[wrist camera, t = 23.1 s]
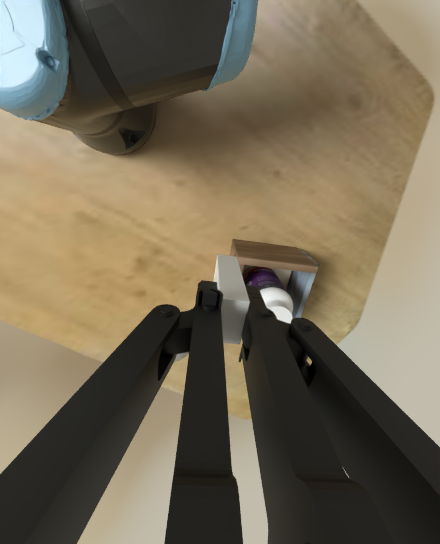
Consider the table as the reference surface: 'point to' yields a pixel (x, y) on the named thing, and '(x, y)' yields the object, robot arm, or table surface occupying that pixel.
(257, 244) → the wooden drawer box
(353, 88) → the table surface
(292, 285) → the grey drawer
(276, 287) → the pill bottle
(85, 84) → the robot arm
